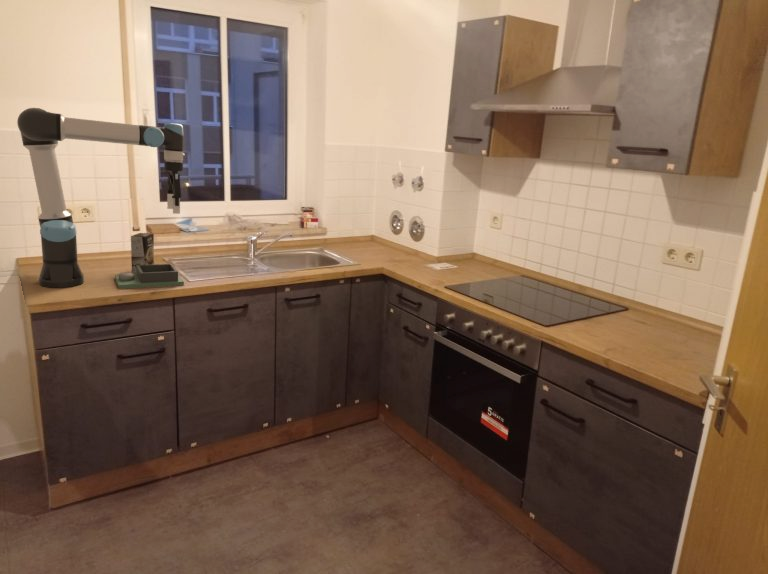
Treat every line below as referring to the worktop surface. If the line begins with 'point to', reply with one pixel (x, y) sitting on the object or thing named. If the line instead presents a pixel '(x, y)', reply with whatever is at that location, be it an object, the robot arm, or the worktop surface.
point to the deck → (150, 277)
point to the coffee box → (142, 250)
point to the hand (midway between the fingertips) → (173, 211)
